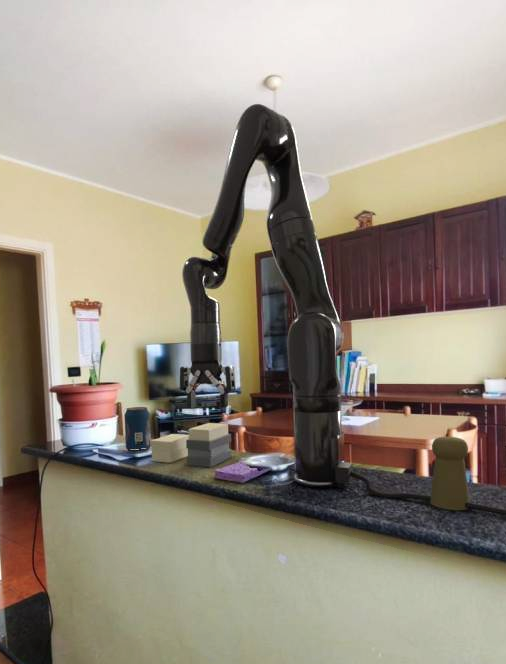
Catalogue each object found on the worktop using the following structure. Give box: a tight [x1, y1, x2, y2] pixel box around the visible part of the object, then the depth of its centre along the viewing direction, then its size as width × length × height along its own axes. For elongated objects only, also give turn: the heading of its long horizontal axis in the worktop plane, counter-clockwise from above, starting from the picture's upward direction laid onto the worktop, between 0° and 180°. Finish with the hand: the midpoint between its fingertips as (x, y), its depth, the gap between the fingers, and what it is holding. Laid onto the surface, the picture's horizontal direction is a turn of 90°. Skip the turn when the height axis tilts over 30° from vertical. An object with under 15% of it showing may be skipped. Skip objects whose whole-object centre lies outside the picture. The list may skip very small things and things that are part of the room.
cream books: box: [150, 433, 189, 464], centre depth 110 cm, size 6×10×5 cm, turn 153°
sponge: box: [214, 459, 272, 483], centre depth 92 cm, size 7×13×2 cm, turn 145°
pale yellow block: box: [187, 422, 229, 441], centre depth 105 cm, size 6×10×3 cm, turn 153°
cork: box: [428, 436, 471, 511], centre depth 70 cm, size 6×6×11 cm
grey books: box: [186, 433, 232, 468], centre depth 105 cm, size 7×11×6 cm, turn 153°
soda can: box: [123, 406, 152, 454], centre depth 120 cm, size 7×7×12 cm
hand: (207, 408), depth 105 cm, fingers open, 8 cm apart
